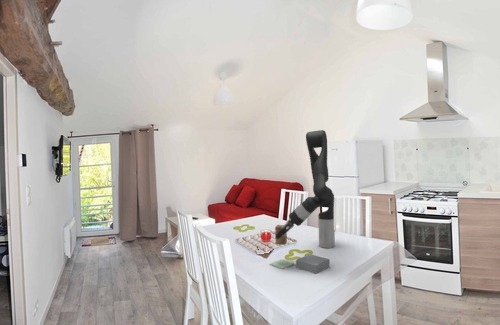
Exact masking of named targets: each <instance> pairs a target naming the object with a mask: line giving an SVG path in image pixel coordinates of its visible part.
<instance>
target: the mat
mask: <svg viewBox="0 0 500 325" xmlns="http://www.w3.org/2000/svg"><path fill="white" fill-rule="evenodd" d="M269 265H270V266H272V267H275V268H278V269H282V270H284V269H287V268H289V267H291V266H293V265H295V263H294V262H291V261H288V260H286V259H281V258H280V259H278V260H276V261H273V262H271V263H269Z"/></svg>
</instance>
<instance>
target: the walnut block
mask: <svg viewBox="0 0 500 325" xmlns="http://www.w3.org/2000/svg"><path fill="white" fill-rule="evenodd" d="M284 225H285V224H277V225H275V227H274V230H275V231H274V232H275V233H274V234H275V235H274V236H276V235H277V234H278V233H279V232H280V230H282V229H283V226H284ZM282 231H283V232H285V231H284V230H282ZM287 233H288V232H286V233H285V234H284V235H282V236H281V237H280V238H279V239H277V238H276V237H274V238H275V245H280V246H281V245H282V246H283V245H284V246H286V244H287V242H288V241H287V240H288V238H287V236H288V234H287Z"/></svg>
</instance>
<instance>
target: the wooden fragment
mask: <svg viewBox="0 0 500 325" xmlns="http://www.w3.org/2000/svg"><path fill="white" fill-rule="evenodd" d="M272 252H273V250H272V251H271V252H269V253H264V254H257V253H256V255H257V256H259V257H262V258H263V259H268V258H269V256H270V255H271V253H272Z"/></svg>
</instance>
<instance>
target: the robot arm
mask: <svg viewBox="0 0 500 325" xmlns="http://www.w3.org/2000/svg"><path fill="white" fill-rule="evenodd" d="M327 137H328V136H327V132H326V131H325V130H324V129H320V130H314V131H308V132H306V134H305V141H306V142H305V143H306V146H307V150H308V156H309V160H310V161H309V162H310V168H311V169H310V170H311V175H312V179H313V185H312V190H313V191H312V192H313V195H314V196H308V197H307V198H305V199H304V200H303V201H302V202H301V203H300V204H299V205H298V206H296V208H294V209H293V211H291V212H290V214H288V218H289V219H288V220H287V221H286V222H285V224H283V225H284V226H283V229H282V230H284V231H285V232H283V231H282V230H280V232H279V233H278V234H277V235H276V236H275V235H274V236H275V237H276V238H277V239H279V238H280V237H281V236H282V235H284V234H285V233H286V232H287V233H288V232H289V231H290V230H291V229H292V228H294V226H297V227H299V226H301V225H302V224H303V223H305V221H306V220H307V219H308V218H309V217H310V216H311V215H312V214H313V213H314V212H315V211H316V210H317V208H327V210H325V211H322V212H319V213H318V215H317V217H318V246H319V247H320V248H323V249H331V248H335V246H336V245H335V243H336V242H335V240H336V236H335V235H336V233H335V211H334V210H335V194H334V193H333V191H332V189H331V188H330V187H328V186H327V182H328V181H329V168H328V138H327ZM319 148H321V150H320V152H319V155H318V153H317V152H316V149H319ZM275 237H274V238H275Z"/></svg>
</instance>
